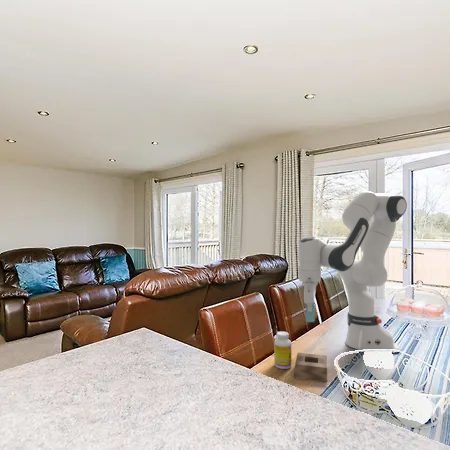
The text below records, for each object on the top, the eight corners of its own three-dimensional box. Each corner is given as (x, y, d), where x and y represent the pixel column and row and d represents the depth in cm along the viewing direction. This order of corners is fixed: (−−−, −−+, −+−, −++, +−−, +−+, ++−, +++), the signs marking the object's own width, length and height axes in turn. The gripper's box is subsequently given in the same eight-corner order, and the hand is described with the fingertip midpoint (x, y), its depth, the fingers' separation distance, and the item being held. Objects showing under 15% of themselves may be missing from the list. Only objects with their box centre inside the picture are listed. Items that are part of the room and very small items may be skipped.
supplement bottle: (291, 370, 120) (291, 336, 120) (274, 369, 122) (273, 335, 122) (291, 363, 127) (291, 331, 127) (274, 361, 128) (274, 330, 128)
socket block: (326, 368, 122) (326, 355, 122) (327, 382, 111) (326, 367, 111) (297, 365, 125) (297, 352, 125) (295, 377, 115) (295, 363, 115)
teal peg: (314, 320, 132) (314, 291, 132) (314, 322, 129) (313, 292, 129) (306, 319, 133) (306, 290, 133) (306, 321, 130) (305, 292, 130)
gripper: (317, 281, 120) (317, 317, 120) (318, 273, 140) (318, 304, 140) (300, 280, 122) (300, 316, 122) (303, 272, 142) (304, 303, 142)
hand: (310, 309), depth 131 cm, fingers closed on teal peg, 3 cm apart
